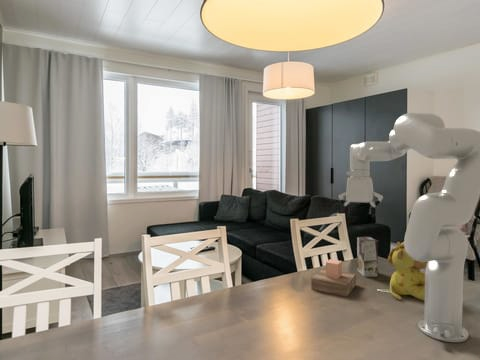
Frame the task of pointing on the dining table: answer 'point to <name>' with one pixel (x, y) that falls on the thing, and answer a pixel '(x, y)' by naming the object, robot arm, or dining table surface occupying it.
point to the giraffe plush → (406, 274)
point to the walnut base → (334, 283)
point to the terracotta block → (333, 269)
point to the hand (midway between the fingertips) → (360, 216)
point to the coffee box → (367, 256)
